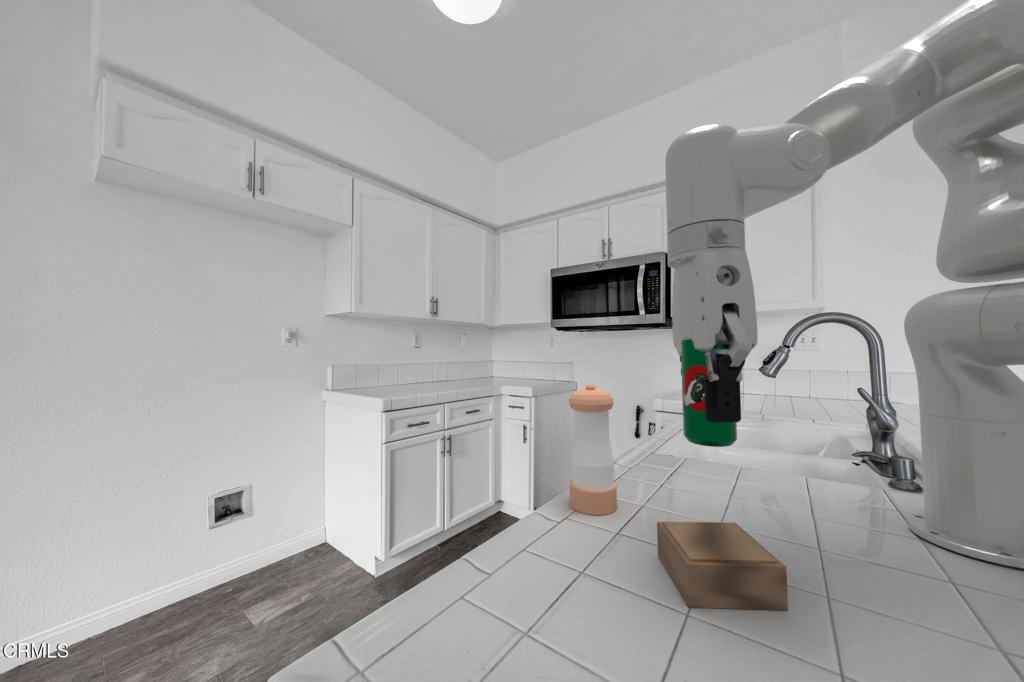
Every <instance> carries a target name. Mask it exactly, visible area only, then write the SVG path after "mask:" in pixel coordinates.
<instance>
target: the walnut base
mask: <svg viewBox="0 0 1024 682" xmlns="http://www.w3.org/2000/svg"><path fill="white" fill-rule="evenodd" d="M656 528H657V529H656V533H657V556H658V559H659V560H660V561H661V564H662V565H663V567H664V568H665V570H666V573H667V574H668V575H669V577H670V579H671V580H672V582H673V583H674V585H675V587H676V588H677V591H678V592H679V594H680V596H681V597H682V599H683V601H684V602H685V604H686V607H688V608H694V609H695V608H696V609H697V608H699V609H701V608H702V609H724V610H725V609H729V610H731V609H733V610H756V611H757V610H760V611H761V610H762V611H789V606H788V605H789V604H788V581H787V580H788V576H787V575H788V573H787V571H788V570H787V566H786V565H785V564H784V563H782V561H780V560H779V559H778V558H777V557H776V556H774V554H772V553H771V552H770V551H769V550H768V549H766V548H765V547H764V546H763V545H762V544H760V542H758V541H757V540H756V539H755V538H754V537H752V536H751V535H750V534H749V533H748V532H747V531H745V530H744V529H743V528H742V527H741V526H740V525H739V524H738V523H736V522H721V521H720V522H714V521H713V522H711V521H710V522H708V521H706V522H705V521H656Z"/></svg>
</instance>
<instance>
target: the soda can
mask: <svg viewBox="0 0 1024 682" xmlns="http://www.w3.org/2000/svg"><path fill="white" fill-rule="evenodd" d="M713 349H728V345H714V347H713ZM681 353H682V376H681V390H682V391H683V402H682V415H683V416H682V418H683V419H682V422H683V426H682V427H683V436H684V437H685V439H686V440H687V441H688V442H689V443H692V444H694V445H699V446H703V447H712V448H725V447H730V446H732V445H733V444H735V443H736V441H738V427H737V426H738V425H737V423H738V422H710V421H707V420H706V418H705V389H704V381H709V379H708V373H707V367H706V361H705V355H704V352H701V351H699V350H696V349H695V348H694V344H693V341H692V340H691V338H690V337H688V336H684V338H683V339H682V341H681ZM719 360H720V358H716V361H717V365H718V362H719ZM682 391H681V392H682Z"/></svg>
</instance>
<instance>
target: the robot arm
mask: <svg viewBox="0 0 1024 682" xmlns="http://www.w3.org/2000/svg"><path fill="white" fill-rule="evenodd" d="M911 121H912V125H911V126H912V134H913V137H914V139H915V141H916V143H917V145H918V146H919V147H920V148H921V150H923V152H924V153H925V154H926V155H927V156H928V158H929V159H930V160H931V161H932V162H933V164H934V165H935V166H936V167H937V168H938V170H939V171H940V173H942V175H943V177H944V179H945V180H946V182H947V197H946V203H945V209H944V213H943V219H942V223H941V227H940V232H939V238H938V242H937V247H936V254H935V255H936V257H935V260H936V261H935V262H936V263H935V264H936V267H937V269H938V271H939V273H940V275H942V276H943V277H944V278H945V279H946V280H949V281H951V282H955V283H962V284H963V283H964V284H976V283H977V284H978V283H991V282H1000V281H1009V280H1017V279H1024V143H1021V142H1016V141H1014V140H1011V139H1008V138H1006V137H1003V136H1002V135H1001V133H1003V132H1006V131H1008V130H1011V129H1013V128H1016V127H1018V126H1021V125H1023V124H1024V0H966V1H965V2H963V3H962V4H960V5H959V6H957V7H955V8H954V9H953V10H951V11H950V12H948V13H947V14H945V15H944V16H942V17H940V19H938V20H936V22H934V23H932V24H931V25H929V26H927V27H926V28H925V29H923V30H922V31H920V32H918V34H916V35H914V36H913V37H910V39H908V40H907V41H905V42H903V43H902V44H900V45H899V46H897V47H895V49H893V50H891V51H890V52H888V53H886V54H885V55H883V56H881V57H879V58H878V59H877V60H875V61H874V62H872V63H871V64H869V65H868V66H865V67H864V68H862V69H861V70H859V71H857V72H856V73H854V74H852V75H850V76H849V77H847V78H845V79H844V80H842V81H840V82H839V83H837V84H835V85H834V86H833V87H831V88H829V89H828V90H826V91H825V92H823V93H822V94H821V95H820V96H818V97H816V98H815V99H814V100H812V101H811V102H809V103H808V104H807V105H805V106H804V107H802V109H800V110H798V111H797V112H796V113H795V114H794V115H792V116H791V117H790V118H788V119H787V120H786V121H785V122H782V123H778V124H768V125H763V126H754V127H747V128H745V127H744V128H743V127H742V128H734V127H733V126H731V125H728V124H723V123H722V124H721V123H712V124H711V123H709V124H705V125H702V126H701V125H700V126H697V127H695V128H694V127H693V128H692V129H690V130H687V131H685V132H683V133H682V134H681V135H679V136H678V137H676V138H675V139H674V140H673V141H672V142H671V143H670V145H669V146H668V149H667V151H666V155H665V163H664V164H665V165H664V167H665V171H664V172H665V202H666V204H665V205H666V206H665V207H666V208H665V209H666V211H665V212H666V241H667V245H666V246H667V247H666V248H667V251H666V252H667V267H668V268H671V269H674V270H673V281H672V300H671V301H672V306H671V309H672V310H671V311H672V312H671V314H672V316H671V318H672V319H671V325H672V326H671V329H672V330H671V331H672V340H673V345H674V346H673V347H674V348H675V349H676V352H677V354H678V356H679V362H680V363H681V364H680V377H682V353H681V341H682V339H683V338H684V336H688V337H690V338H691V340H692V341H693V344H694V348H695V349H696V350H699V351H701V352H704V355H705V361H706V367H707V373H708V379H709V381H704V389H705V418H706V420H707V421H710V422H737V423H739V422H741V420H742V409H741V408H742V407H741V403H742V401H741V382H742V381H743V371H742V369H743V368H744V366H745V363H746V359H747V358H748V356H749V354H750V353H751V352H752V350H753V349H754V348H755V347H757V346H758V345H757V344H758V338H759V337H758V334H759V333H758V321H757V320H758V319H757V318H758V317H757V309H756V308H757V307H756V298H755V290H754V288H755V287H754V282H753V276H752V272H751V271H752V270H751V266H750V262H749V258H748V255H747V251H746V228H745V226H746V225H745V220H746V219H747V218H749V217H751V216H754V215H756V214H758V213H760V212H762V211H764V210H767V209H769V208H772V207H775V206H776V205H779V204H781V203H783V202H786V201H787V200H790V199H792V198H794V197H796V196H798V195H800V194H802V193H805V191H807V190H808V189H810V188H812V187H813V186H814V185H816V184H817V183H818V182H819V181H820V180H821V179H822V178H823V176H824V175H825V173H826V172H827V171H829V170H831V169H832V168H836V167H837V166H839V165H841V164H842V163H845V162H846V161H848V160H850V159H853V157H856V156H857V155H860V154H861V153H863V152H865V151H867V150H869V149H870V148H872V147H873V146H875V145H877V144H878V143H880V142H881V141H882V140H884V139H885V138H887V137H888V136H890V135H891V134H892V133H894V132H895V131H896V130H898V129H900V128H902V127H903V126H904V125H906V124H907V123H909V122H911ZM903 330H904V336H905V339H906V343H907V345H908V348H909V351H910V354H911V357H912V360H913V364H914V370H915V375H916V381H917V390H918V406H919V426H920V428H919V429H920V447H921V464H922V465H921V466H922V467H921V468H922V484H923V487H922V488H923V489H922V490H923V503H924V504H923V505H924V507H923V508H924V512H919V513H914V514H911V515H909V516H908V518H907V525H908V528H909V529H910V531H912V532H913V533H914V534H915V535H917V536H919V537H921V539H924V540H925V541H928V542H930V543H931V544H935V545H937V546H939V547H941V548H944V549H947V550H949V551H952V552H954V553H957V554H960V555H964V556H968V557H971V558H974V559H977V560H981V561H984V562H989V563H992V564H993V563H994V564H997V565H1000V566H1001V565H1002V566H1005V567H1006V566H1007V567H1010V568H1011V567H1013V568H1017V569H1023V570H1024V381H1023V380H1022V379H1021V377H1019V376H1018V375H1017V374H1016V373H1014V371H1013V370H1011V368H1010V367H1009V366H1017V365H1018V366H1024V281H1017V282H1011V283H1010V282H1007V283H1006V282H1005V283H1004V282H1003V283H997V284H988V285H982V286H973V287H965V288H957V289H952V290H947V291H943V292H939V293H935V294H932V295H929V296H927V297H924V298H922V299H921V300H919V301H917V302H916V303H915V304H913V305H912V306H911V307H910V308H909V309H908V311H907V313H906V315H905V318H904V320H903ZM714 345H728V349H713V347H714ZM716 358H720V360H719V362H718V365H717V361H716ZM681 396H682V399H681V400H682V403H683V391H681Z"/></svg>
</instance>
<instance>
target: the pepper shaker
mask: <svg viewBox="0 0 1024 682" xmlns="http://www.w3.org/2000/svg"><path fill="white" fill-rule="evenodd" d="M610 393H611V392H610ZM610 393H609V392H607V391H606V390H603V389H598V388H597V387H596V385H595V384H594V383H593V384H592V383H589V384H586V386H585V389H583V388H582V389H578V390H575V391H574V392H572V393H571V395H570V396H569V399H568V403H569V407H570V409H571V410H573V430H574V431H573V444H572V450H571V458H570V459H571V460H570V461H571V462H570V463H571V467H570V468H571V480H570V481H569V505H570V507H571V509H572V510H574V511H576V512H577V513H581V514H584V515H589V516H603V515H604V516H605V515H611V514H612V513H615V511H617V508H618V499H617V496H618V494H617V493H618V492H617V487H618V486H617V484H616V482H615V461H614V460H615V459H614V456H613V450H612V445H611V439H610V438H611V437H610V416H609V415H610V414H609V413H610V412H609V411H611V410H612V409H613V406H614V403H615V402H614V398H613V396H612V395H611V394H610Z"/></svg>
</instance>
